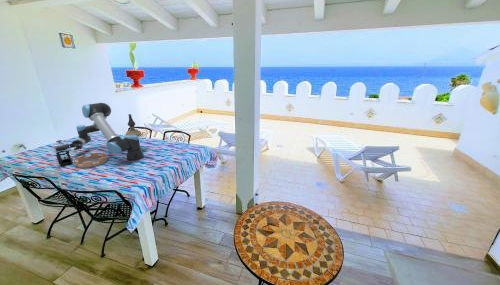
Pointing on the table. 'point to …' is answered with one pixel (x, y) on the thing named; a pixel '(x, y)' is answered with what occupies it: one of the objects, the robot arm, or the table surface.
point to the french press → (66, 159)
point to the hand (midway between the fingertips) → (63, 151)
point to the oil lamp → (132, 128)
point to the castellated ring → (90, 160)
